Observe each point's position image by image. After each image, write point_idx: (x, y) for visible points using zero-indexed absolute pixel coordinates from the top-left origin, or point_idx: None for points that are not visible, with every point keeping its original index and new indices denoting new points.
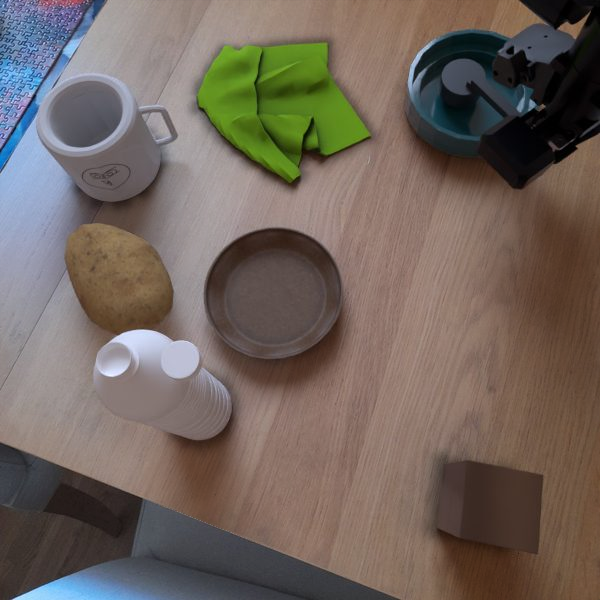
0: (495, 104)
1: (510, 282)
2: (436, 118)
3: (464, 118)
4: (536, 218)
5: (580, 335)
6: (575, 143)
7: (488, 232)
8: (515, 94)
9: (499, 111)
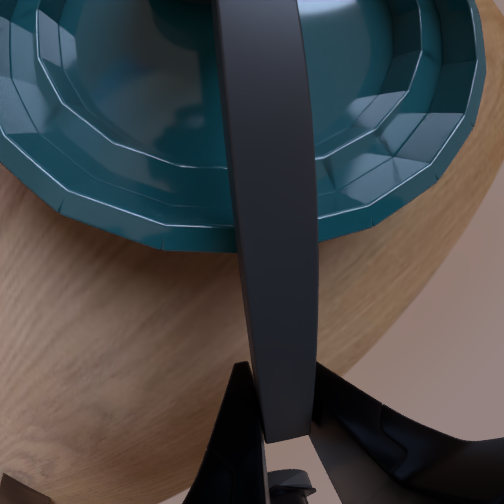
0: (219, 66)
1: (90, 440)
2: (100, 1)
3: (178, 32)
4: (188, 396)
5: (159, 492)
6: (342, 499)
7: (75, 375)
8: (381, 68)
9: (223, 120)
